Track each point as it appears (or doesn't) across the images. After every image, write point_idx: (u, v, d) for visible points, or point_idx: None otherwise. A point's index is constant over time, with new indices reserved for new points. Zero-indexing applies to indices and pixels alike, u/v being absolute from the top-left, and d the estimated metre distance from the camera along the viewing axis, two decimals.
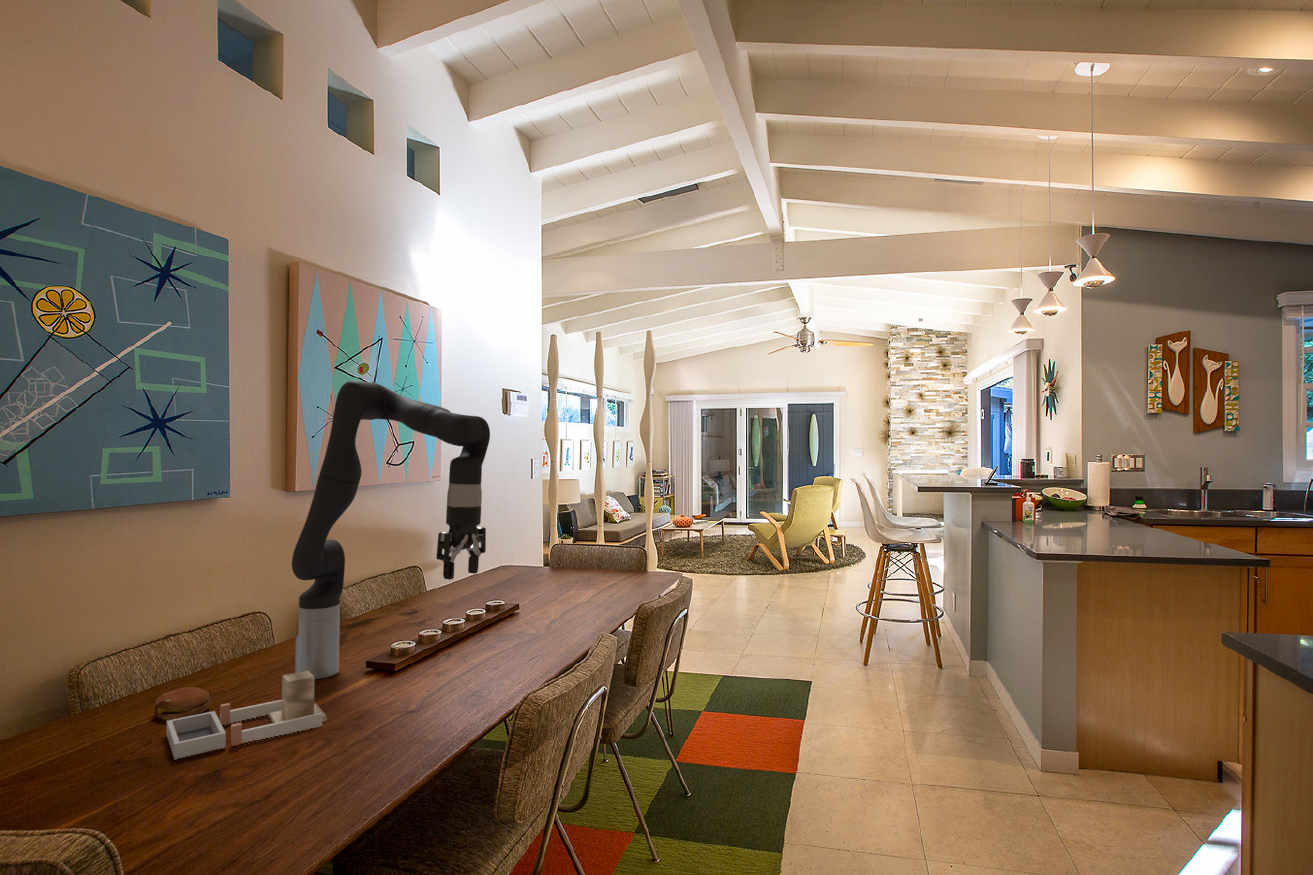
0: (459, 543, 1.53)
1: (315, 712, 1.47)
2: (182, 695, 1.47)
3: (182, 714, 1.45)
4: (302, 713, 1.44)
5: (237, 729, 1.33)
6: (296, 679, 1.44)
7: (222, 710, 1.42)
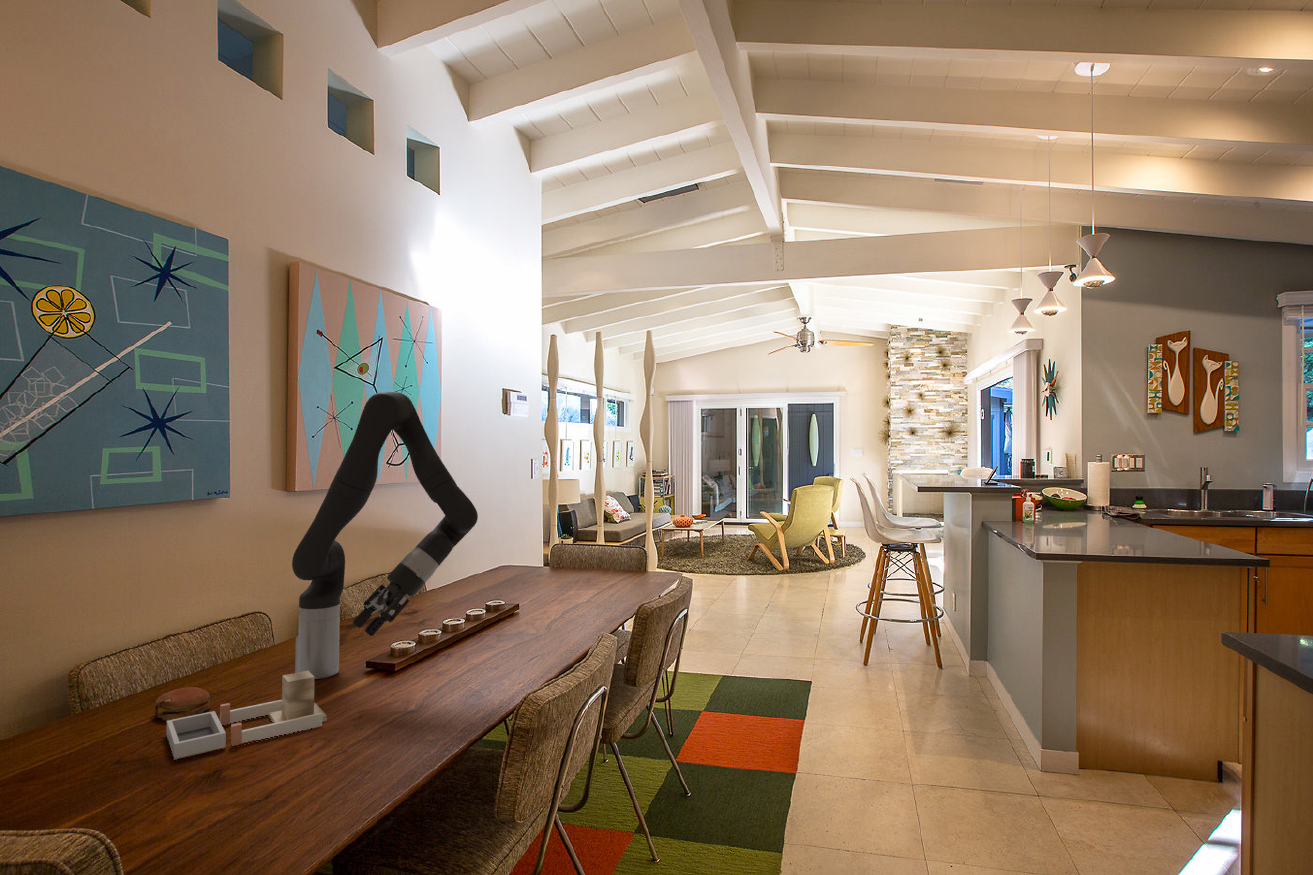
0: None
1: (315, 712, 1.47)
2: (182, 695, 1.47)
3: (183, 715, 1.45)
4: (302, 713, 1.44)
5: (237, 729, 1.33)
6: (296, 679, 1.44)
7: (222, 710, 1.42)
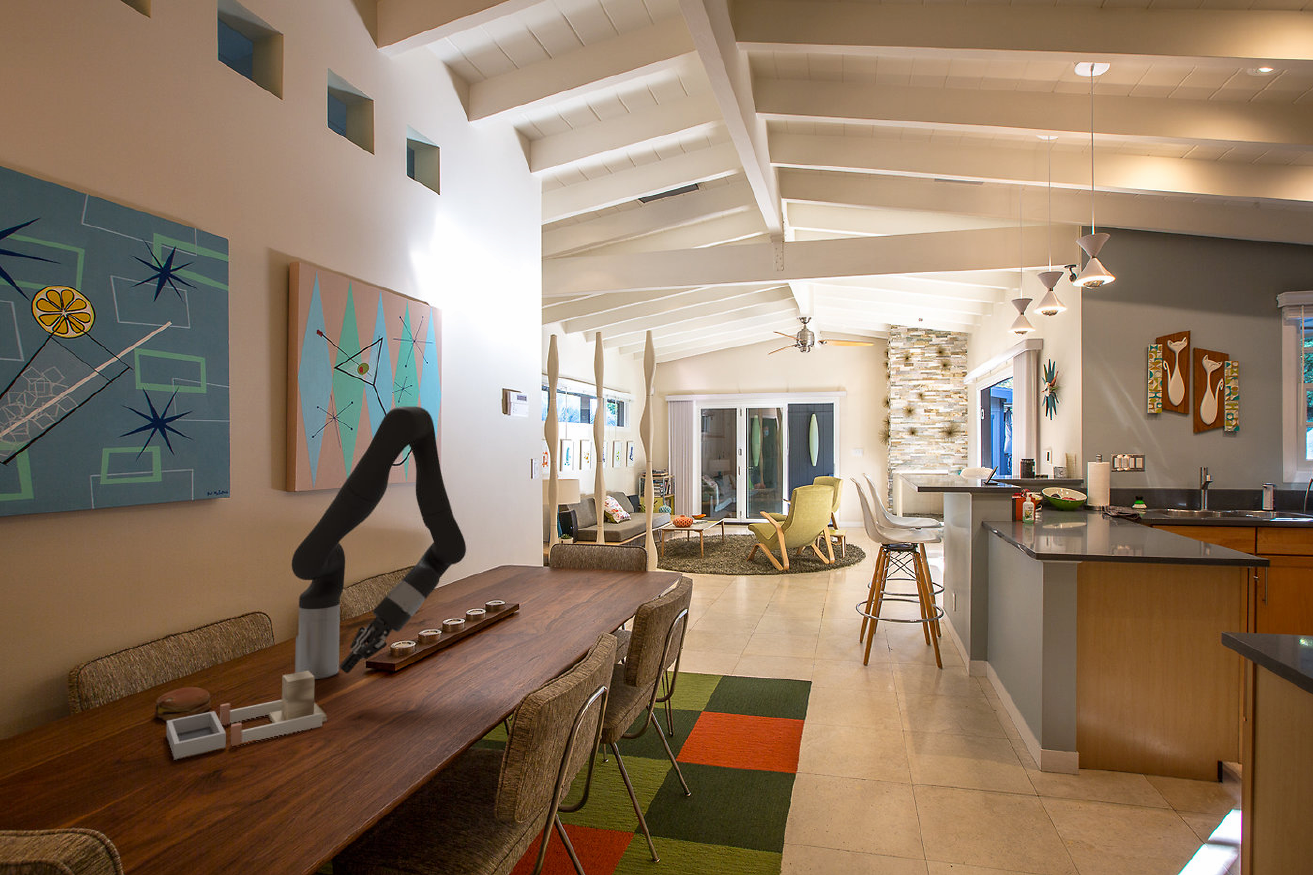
0: None
1: (315, 712, 1.47)
2: (183, 695, 1.47)
3: (183, 715, 1.45)
4: (302, 713, 1.44)
5: (237, 729, 1.33)
6: (296, 679, 1.44)
7: (222, 710, 1.42)
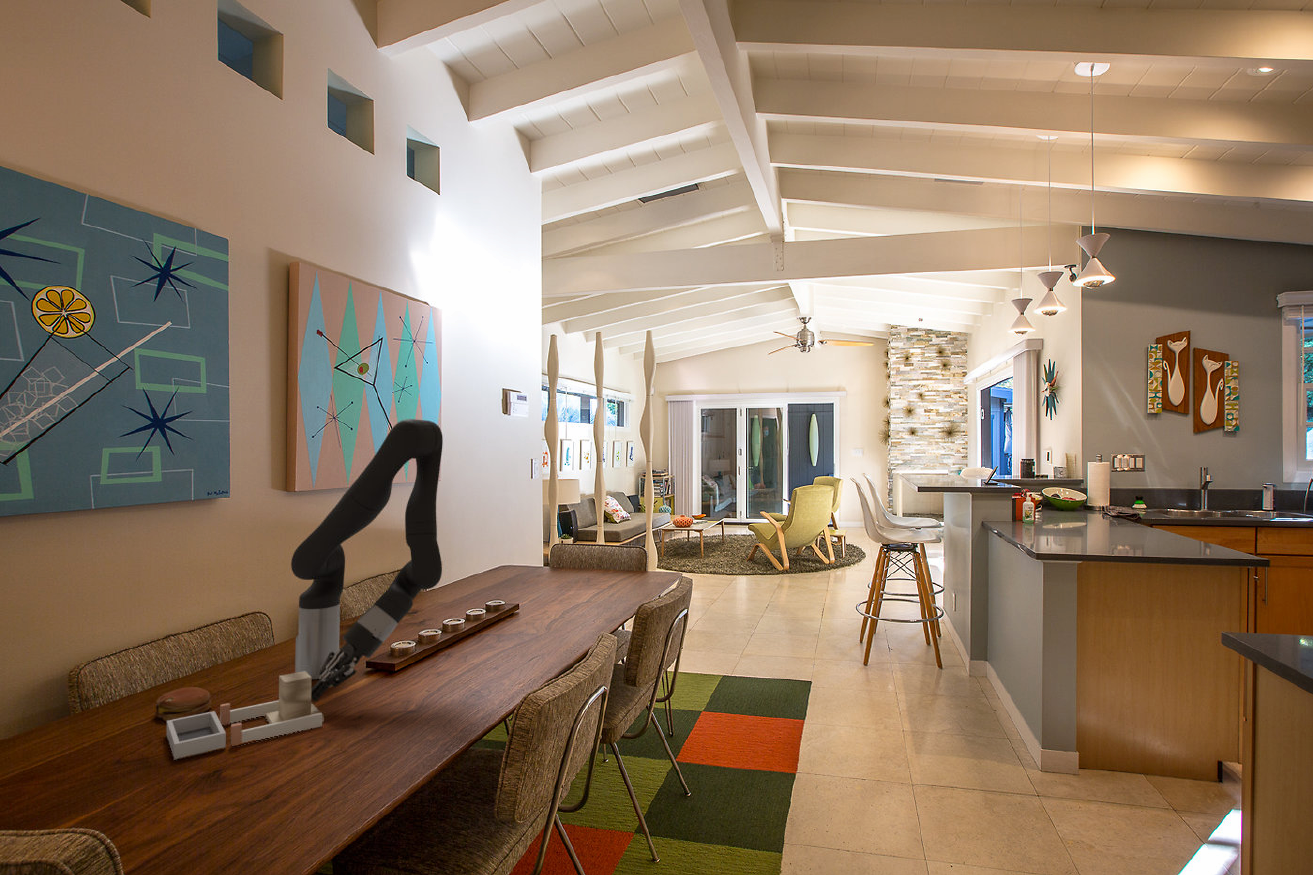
0: None
1: (312, 713, 1.46)
2: (183, 695, 1.47)
3: (183, 715, 1.45)
4: (299, 714, 1.44)
5: (237, 729, 1.33)
6: (293, 679, 1.43)
7: (222, 710, 1.42)
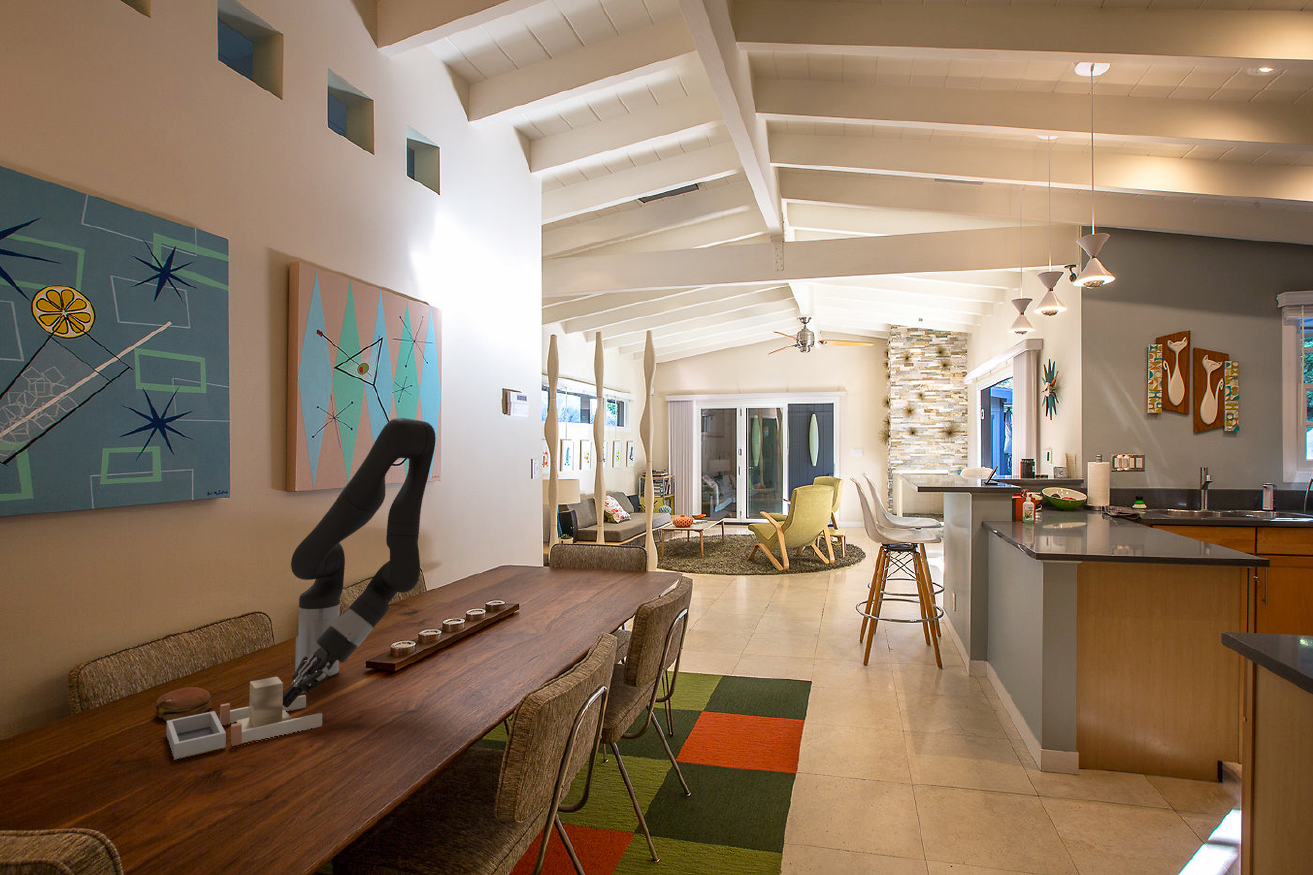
0: None
1: (284, 719, 1.43)
2: (183, 695, 1.47)
3: (184, 715, 1.45)
4: (270, 720, 1.40)
5: (237, 729, 1.33)
6: (264, 685, 1.40)
7: (222, 710, 1.42)
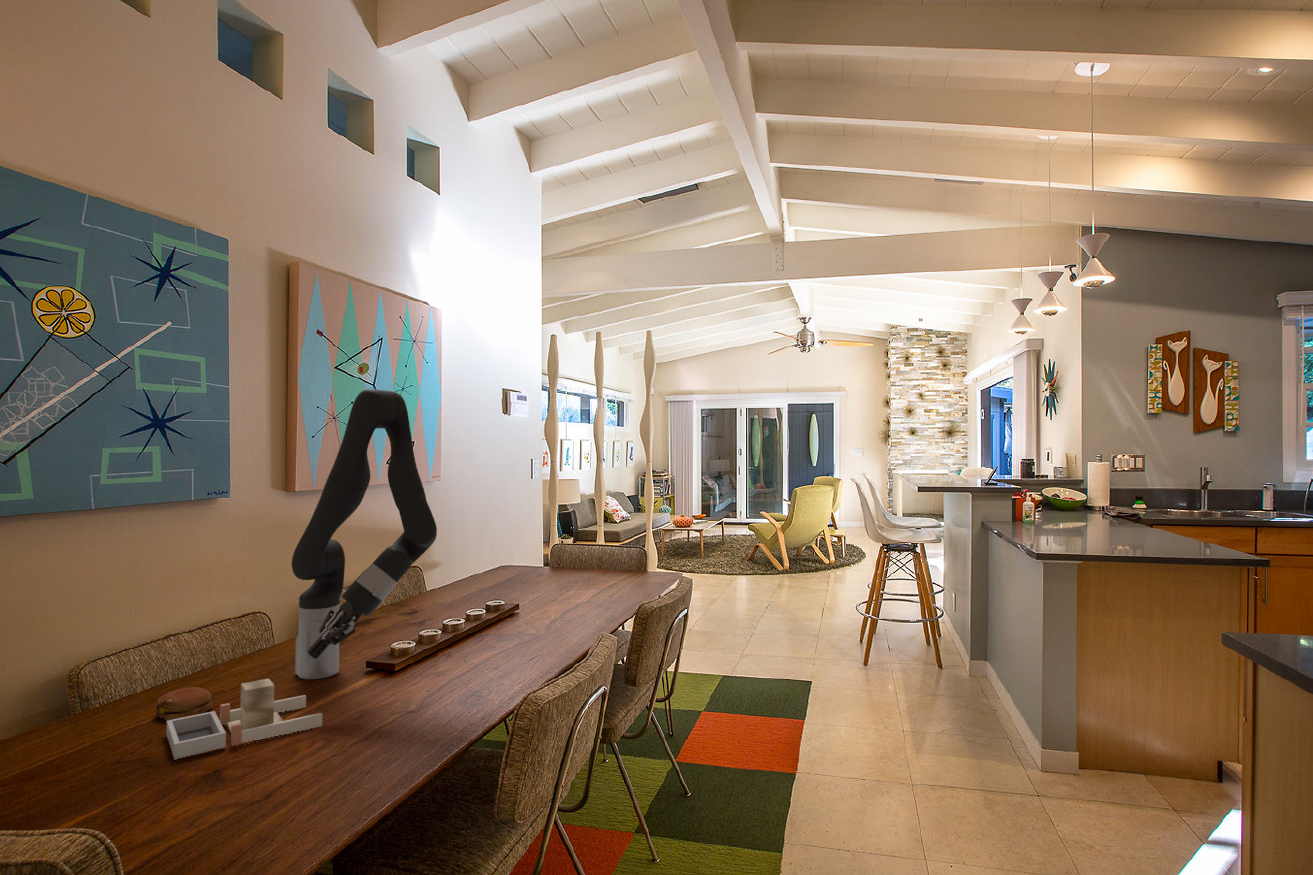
0: None
1: (275, 721, 1.42)
2: (184, 695, 1.47)
3: (184, 715, 1.45)
4: (261, 723, 1.39)
5: (237, 729, 1.33)
6: (255, 687, 1.39)
7: (222, 710, 1.42)
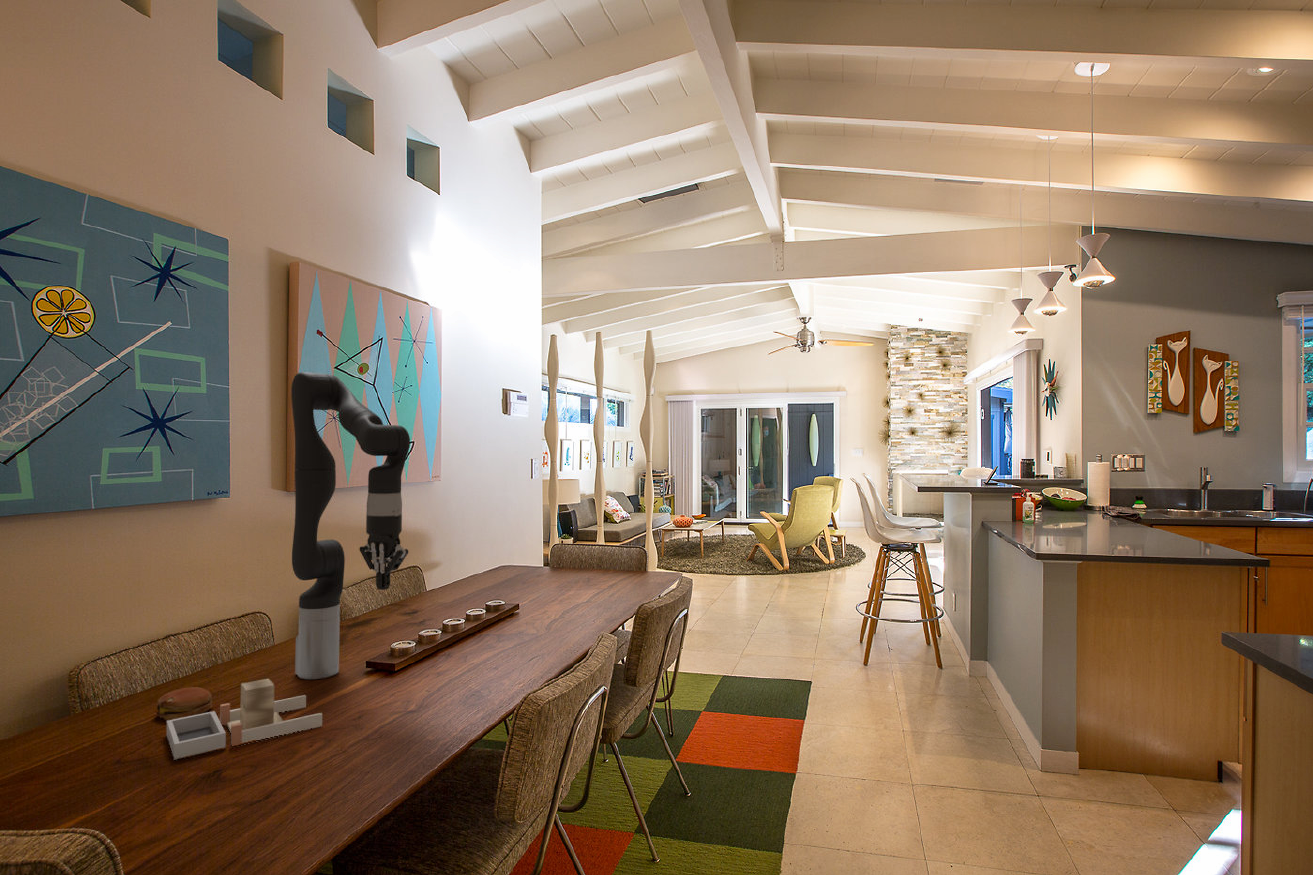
0: None
1: (275, 721, 1.42)
2: (184, 695, 1.47)
3: (184, 715, 1.45)
4: (261, 723, 1.39)
5: (237, 729, 1.33)
6: (255, 687, 1.39)
7: (222, 710, 1.42)
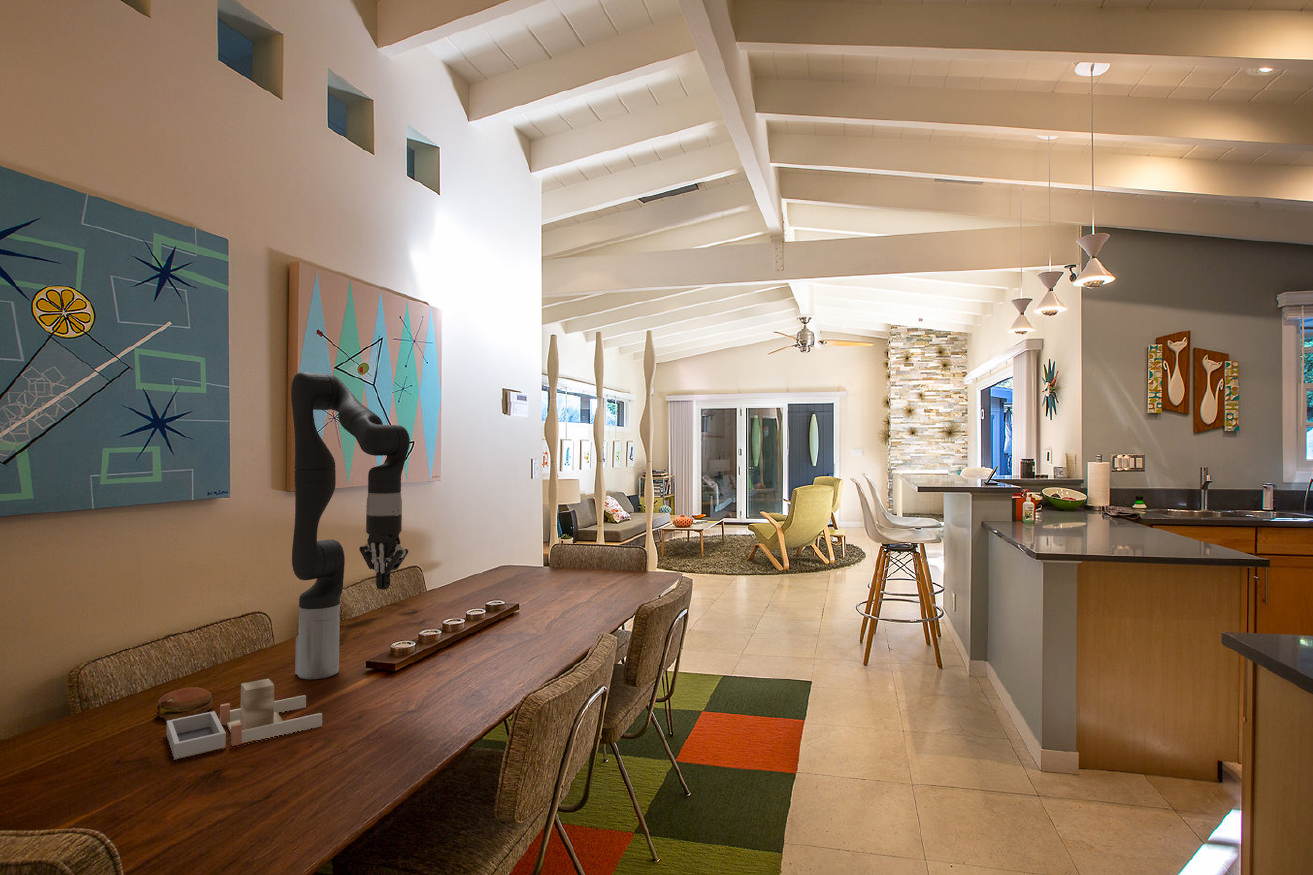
0: None
1: (275, 721, 1.42)
2: (185, 695, 1.47)
3: (185, 715, 1.45)
4: (261, 723, 1.39)
5: (237, 729, 1.33)
6: (255, 687, 1.39)
7: (222, 710, 1.42)
